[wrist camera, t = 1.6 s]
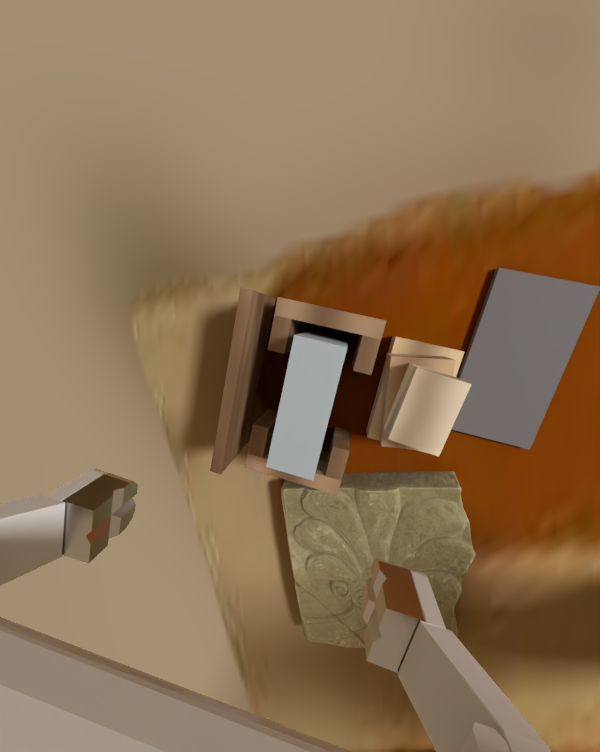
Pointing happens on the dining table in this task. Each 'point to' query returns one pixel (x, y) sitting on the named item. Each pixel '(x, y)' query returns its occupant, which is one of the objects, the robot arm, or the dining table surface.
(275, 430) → the light blue rectangular block
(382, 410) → the offcut middle
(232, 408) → the rack
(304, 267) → the dining table surface
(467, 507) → the dining table surface
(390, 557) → the decorative tile
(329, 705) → the dining table surface
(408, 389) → the offcut top
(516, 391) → the mat
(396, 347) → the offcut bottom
